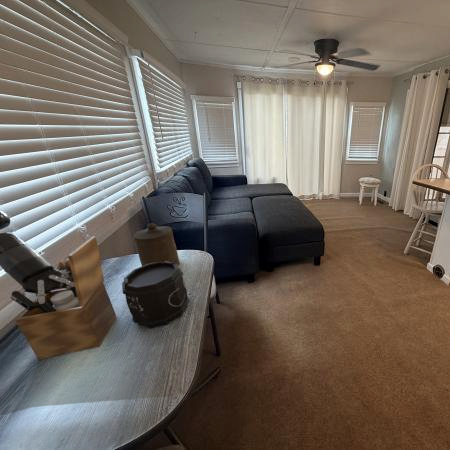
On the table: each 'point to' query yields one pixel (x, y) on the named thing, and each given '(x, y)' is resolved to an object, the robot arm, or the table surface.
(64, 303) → the pill bottle
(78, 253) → the lid
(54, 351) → the box
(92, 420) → the table surface
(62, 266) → the lion figurine
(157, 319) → the dark round tin
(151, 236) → the wooden container
